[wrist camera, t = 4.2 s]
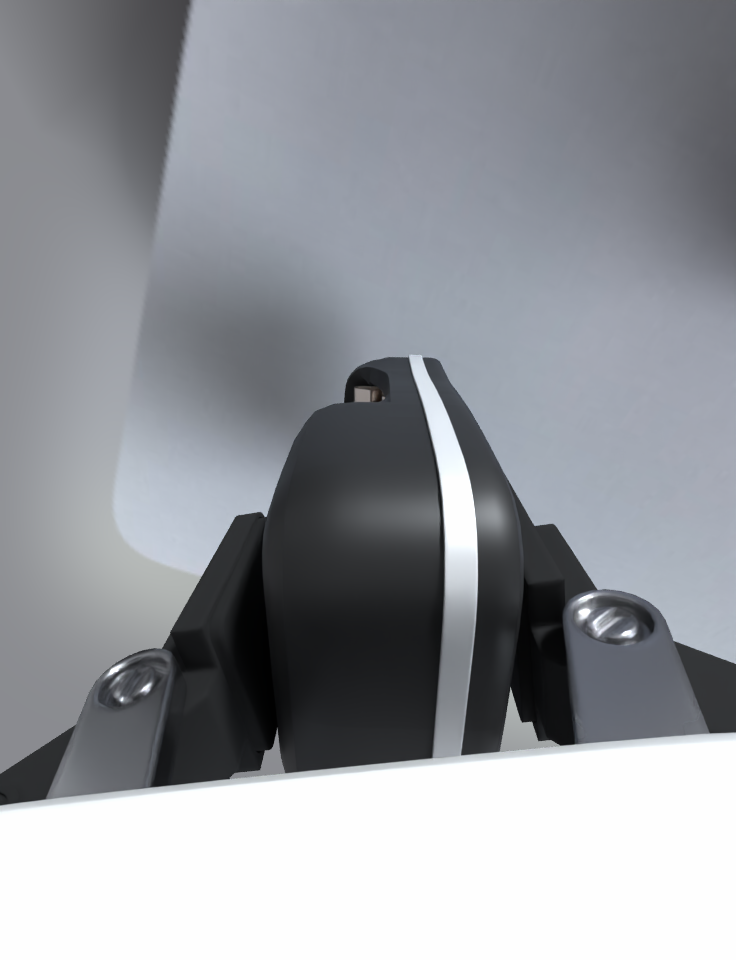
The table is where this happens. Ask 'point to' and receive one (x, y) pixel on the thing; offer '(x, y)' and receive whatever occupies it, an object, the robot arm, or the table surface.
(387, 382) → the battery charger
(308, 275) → the table surface
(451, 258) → the table surface
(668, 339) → the table surface
